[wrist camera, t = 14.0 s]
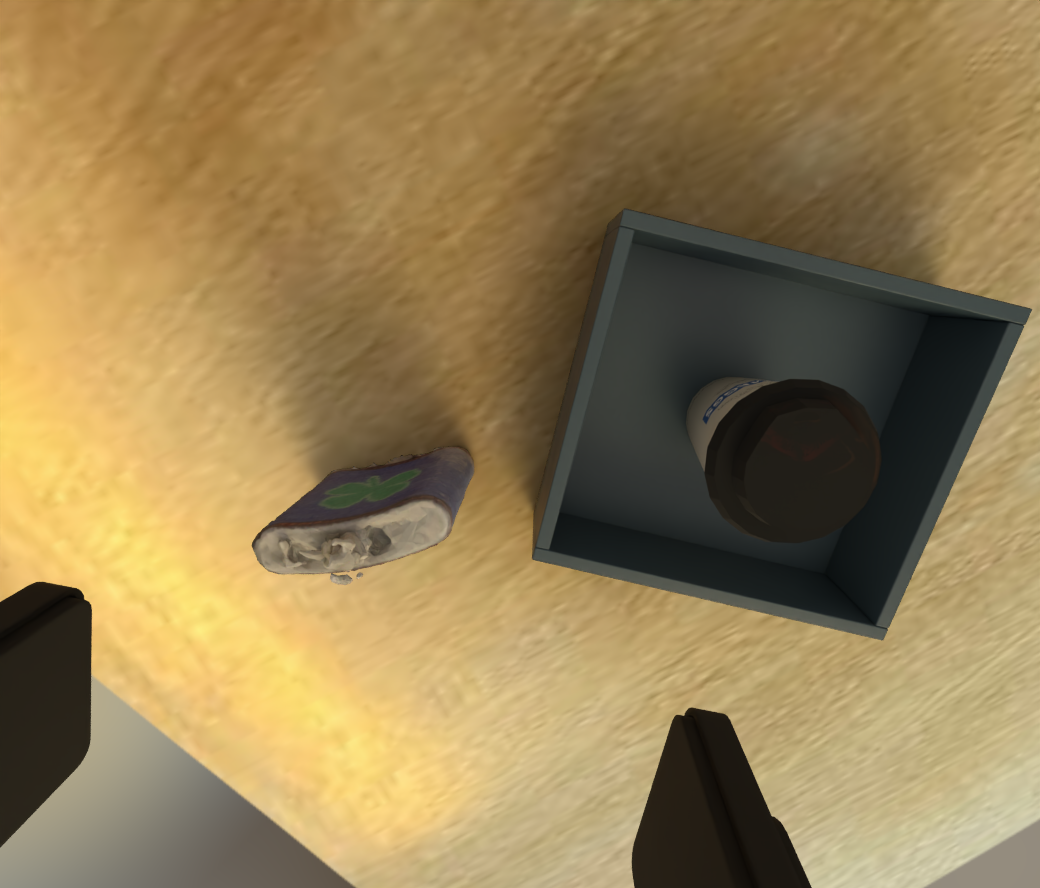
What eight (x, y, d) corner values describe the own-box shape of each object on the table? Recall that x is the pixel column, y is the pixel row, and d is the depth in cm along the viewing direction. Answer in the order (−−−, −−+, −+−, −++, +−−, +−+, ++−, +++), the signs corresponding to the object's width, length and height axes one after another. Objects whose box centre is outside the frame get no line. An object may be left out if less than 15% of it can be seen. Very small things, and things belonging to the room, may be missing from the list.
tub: (608, 222, 31) (623, 207, 25) (940, 304, 31) (1033, 308, 25) (533, 513, 35) (531, 560, 29) (826, 582, 35) (883, 641, 29)
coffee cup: (794, 472, 33) (898, 550, 23) (667, 486, 34) (718, 567, 24) (793, 346, 31) (905, 373, 22) (659, 362, 32) (710, 395, 22)
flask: (469, 439, 34) (437, 508, 23) (481, 487, 35) (455, 575, 24) (315, 471, 35) (218, 552, 24) (330, 517, 35) (242, 614, 25)
